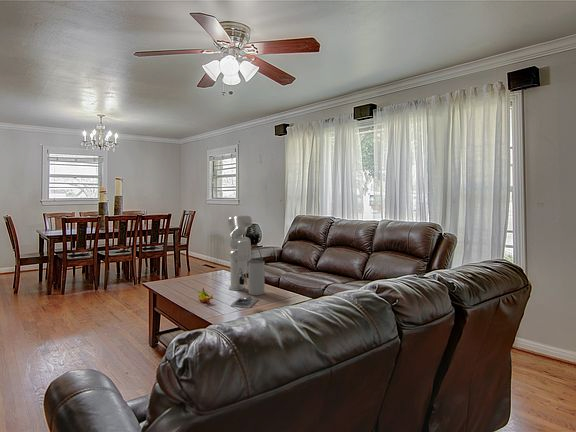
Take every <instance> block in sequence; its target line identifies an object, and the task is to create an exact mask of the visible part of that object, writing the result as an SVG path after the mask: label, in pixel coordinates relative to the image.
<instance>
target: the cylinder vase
mask: <svg viewBox="0 0 576 432" xmlns="http://www.w3.org/2000/svg"><path fill="white" fill-rule="evenodd" d="M265 264H266V263H265V260H264V261H263V260H250V261H248V294H249V295H251V296H262V295H264V294H265V267H266V266H265Z"/></svg>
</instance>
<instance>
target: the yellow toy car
mask: <svg viewBox="0 0 576 432" xmlns="http://www.w3.org/2000/svg"><path fill="white" fill-rule="evenodd" d="M197 294H198V299H199V300H200V302H202V303H206V302H207V304H208V305H209V304H210V303H211V302H210V300H213V298H214V297H213V294H211V295H209V294H208V291H206V290H205V289H204V287H202V290H201V291H198V293H197Z"/></svg>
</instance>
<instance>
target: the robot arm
mask: <svg viewBox="0 0 576 432" xmlns="http://www.w3.org/2000/svg"><path fill="white" fill-rule="evenodd" d="M252 220H253V219H252V217H251V216H250V215H236V216H230V217H229V218H228V219H227V224H228V227H229V229H230V234H229V237H228V240H229V241H228V242H229V243H228V245H229V248H230V249H231V250H232V251H230V252H229V256H228V257H229V262H230V264H229V265H230V285H229V286H228V290H231V291H241V290H244V289H245V286H244V279H243V278H244V277H247V278H248V276H247V273H249V261H252V260H251V259H252V248H251V247H252V243H251V239H250V238H249V237H247V236H243V235H244V234H245V233H246V228H249V227H251V226H252V225H253V224H252V223H253V221H252ZM239 284H242V285H239Z"/></svg>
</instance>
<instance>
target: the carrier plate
mask: <svg viewBox="0 0 576 432" xmlns="http://www.w3.org/2000/svg"><path fill="white" fill-rule="evenodd" d="M257 301H259V298H257V297H252V296H240V297H239V298H237V299H236V300H235V301H233V302H232V303H231V304H230V307H233V308H234V307H236V308H237V307H238V308H249V309H250V308H251V307H252V306H254V304H255V303H257Z"/></svg>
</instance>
